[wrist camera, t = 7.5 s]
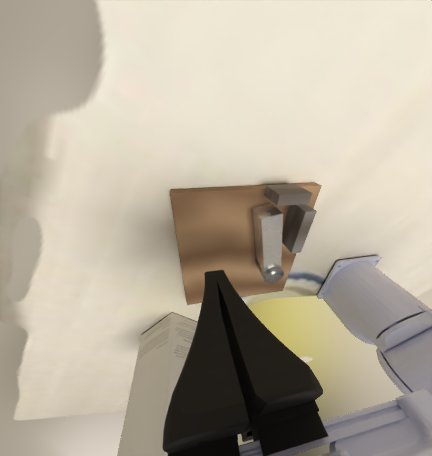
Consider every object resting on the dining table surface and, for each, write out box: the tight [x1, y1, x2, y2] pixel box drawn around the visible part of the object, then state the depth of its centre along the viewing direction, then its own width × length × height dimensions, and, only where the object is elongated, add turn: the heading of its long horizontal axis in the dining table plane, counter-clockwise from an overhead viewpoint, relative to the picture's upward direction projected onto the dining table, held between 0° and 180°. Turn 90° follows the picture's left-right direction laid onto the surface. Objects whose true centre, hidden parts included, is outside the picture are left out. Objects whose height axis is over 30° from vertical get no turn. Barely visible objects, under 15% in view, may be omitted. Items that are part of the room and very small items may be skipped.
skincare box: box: [117, 312, 198, 456], centre depth 21 cm, size 8×7×16 cm
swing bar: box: [252, 203, 284, 283], centre depth 18 cm, size 9×2×3 cm, turn 12°
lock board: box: [170, 183, 321, 305], centre depth 19 cm, size 17×15×4 cm
